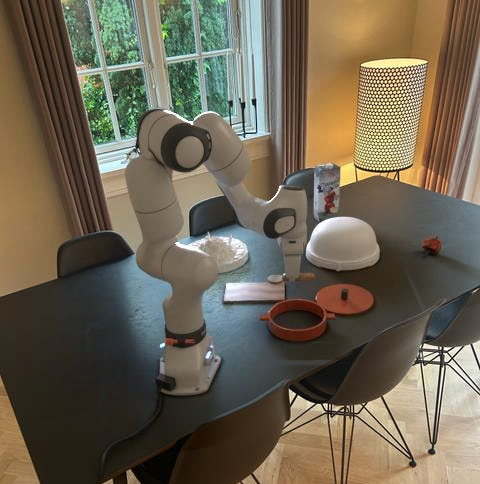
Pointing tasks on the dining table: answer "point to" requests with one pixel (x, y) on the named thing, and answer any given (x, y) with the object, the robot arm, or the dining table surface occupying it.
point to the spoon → (279, 279)
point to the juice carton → (326, 191)
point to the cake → (223, 251)
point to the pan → (297, 305)
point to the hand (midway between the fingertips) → (292, 277)
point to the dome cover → (343, 244)
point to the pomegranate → (431, 246)
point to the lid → (345, 299)
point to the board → (254, 292)
